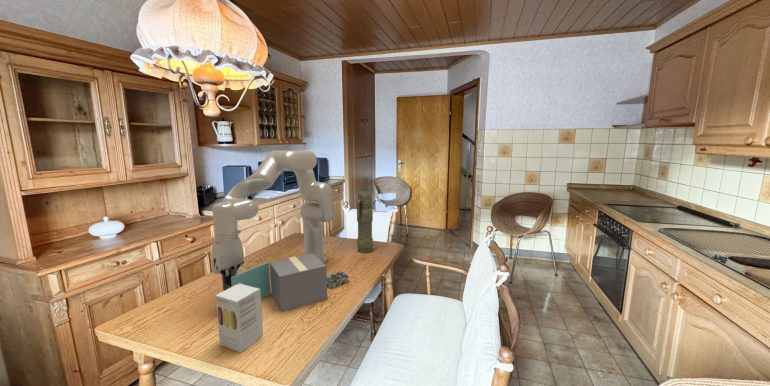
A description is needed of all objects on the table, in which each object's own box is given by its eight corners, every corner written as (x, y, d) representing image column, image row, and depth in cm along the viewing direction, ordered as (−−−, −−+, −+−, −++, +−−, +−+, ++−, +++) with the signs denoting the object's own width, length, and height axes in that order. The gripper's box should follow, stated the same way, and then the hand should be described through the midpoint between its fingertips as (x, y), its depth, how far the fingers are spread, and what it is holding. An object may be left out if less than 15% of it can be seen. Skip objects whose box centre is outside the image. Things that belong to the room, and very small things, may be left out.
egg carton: (330, 290, 134) (330, 281, 133) (321, 284, 140) (320, 275, 139) (350, 282, 141) (350, 273, 140) (341, 276, 147) (341, 268, 146)
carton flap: (258, 289, 133) (255, 254, 130) (270, 293, 129) (268, 257, 127) (222, 306, 120) (218, 268, 117) (235, 312, 116) (231, 272, 113)
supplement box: (218, 345, 98) (213, 295, 95) (242, 328, 107) (238, 282, 104) (241, 353, 95) (236, 301, 92) (264, 336, 103) (260, 287, 100)
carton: (271, 294, 130) (269, 261, 128) (313, 283, 140) (312, 252, 137) (281, 312, 117) (279, 276, 114) (327, 299, 126) (326, 265, 124)
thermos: (353, 252, 177) (351, 191, 171) (363, 246, 187) (362, 187, 181) (366, 255, 173) (366, 192, 167) (376, 248, 183) (376, 188, 177)
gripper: (239, 229, 122) (243, 274, 126) (199, 240, 109) (204, 290, 113) (252, 232, 119) (255, 278, 122) (211, 244, 106) (216, 295, 109)
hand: (230, 283), depth 117 cm, fingers closed
